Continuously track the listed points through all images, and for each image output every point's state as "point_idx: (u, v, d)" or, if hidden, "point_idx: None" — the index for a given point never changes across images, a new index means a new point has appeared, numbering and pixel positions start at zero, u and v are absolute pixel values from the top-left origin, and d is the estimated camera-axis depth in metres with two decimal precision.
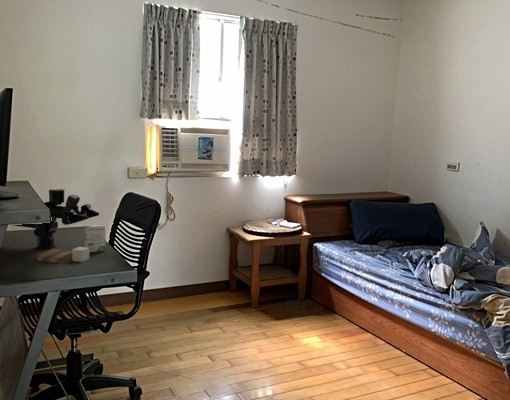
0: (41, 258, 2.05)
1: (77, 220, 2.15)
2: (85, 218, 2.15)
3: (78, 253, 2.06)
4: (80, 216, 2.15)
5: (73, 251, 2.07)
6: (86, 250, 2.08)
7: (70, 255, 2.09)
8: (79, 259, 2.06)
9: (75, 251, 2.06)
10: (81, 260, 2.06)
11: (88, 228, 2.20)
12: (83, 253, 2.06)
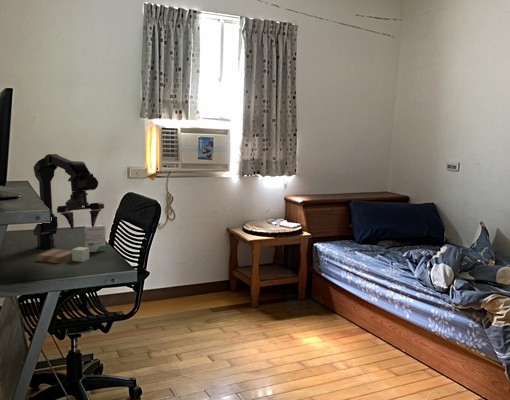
0: (41, 258, 2.05)
1: None
2: None
3: (78, 253, 2.06)
4: None
5: (73, 251, 2.07)
6: (86, 250, 2.08)
7: (70, 255, 2.09)
8: (79, 259, 2.06)
9: (75, 251, 2.06)
10: (81, 260, 2.06)
11: (88, 228, 2.20)
12: (83, 253, 2.06)
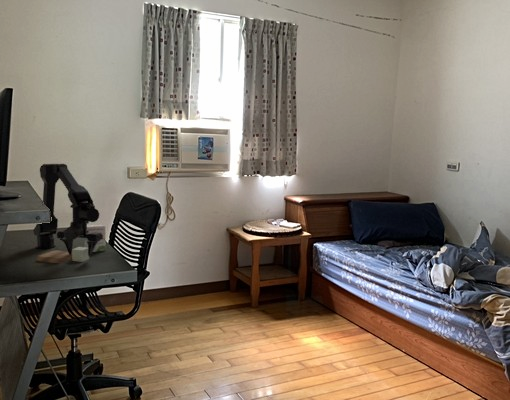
0: (41, 259, 2.05)
1: None
2: None
3: (78, 253, 2.06)
4: None
5: (73, 251, 2.07)
6: (86, 250, 2.08)
7: (70, 256, 2.09)
8: (79, 259, 2.06)
9: (75, 251, 2.06)
10: (81, 260, 2.06)
11: (88, 228, 2.20)
12: (83, 253, 2.06)
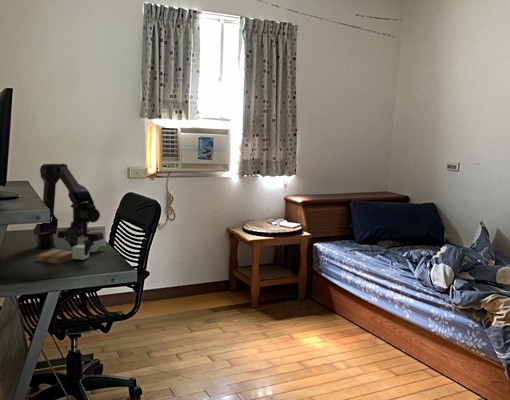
0: (41, 258, 2.05)
1: None
2: None
3: (78, 250, 2.06)
4: None
5: (73, 249, 2.07)
6: None
7: (70, 255, 2.09)
8: (79, 257, 2.06)
9: (75, 249, 2.06)
10: (81, 258, 2.06)
11: (88, 228, 2.20)
12: (83, 251, 2.06)
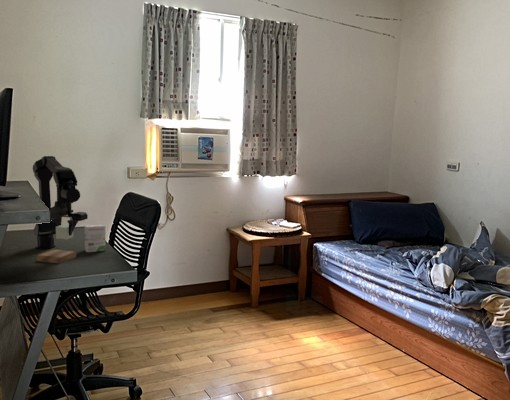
0: (41, 258, 2.05)
1: None
2: None
3: (62, 230, 2.05)
4: None
5: (57, 228, 2.06)
6: None
7: (70, 255, 2.09)
8: (63, 236, 2.06)
9: (59, 228, 2.06)
10: (65, 237, 2.06)
11: (88, 228, 2.20)
12: (67, 230, 2.06)
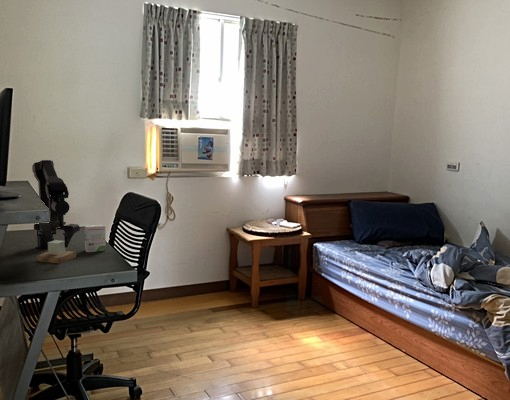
0: (41, 258, 2.04)
1: None
2: None
3: (54, 246, 2.06)
4: None
5: (49, 244, 2.07)
6: (62, 243, 2.08)
7: (70, 256, 2.09)
8: (55, 252, 2.06)
9: (51, 244, 2.06)
10: (57, 253, 2.06)
11: (88, 228, 2.20)
12: (59, 246, 2.06)
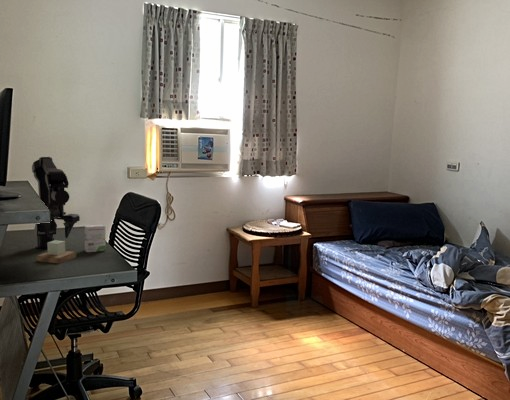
0: (41, 258, 2.04)
1: None
2: None
3: (54, 246, 2.06)
4: None
5: (48, 244, 2.06)
6: (62, 243, 2.08)
7: (70, 256, 2.09)
8: (55, 252, 2.06)
9: (50, 244, 2.06)
10: (57, 253, 2.06)
11: (88, 228, 2.20)
12: (58, 246, 2.06)
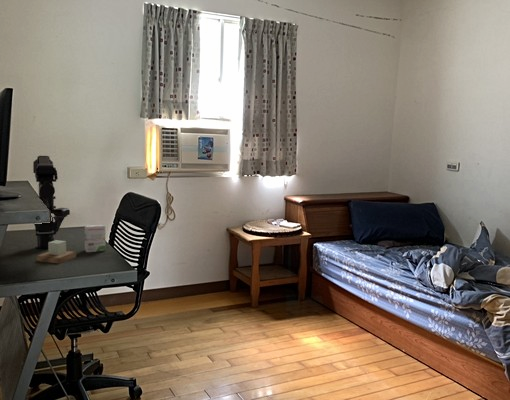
0: (41, 258, 2.04)
1: None
2: None
3: (54, 246, 2.06)
4: None
5: (49, 244, 2.06)
6: (63, 243, 2.08)
7: (70, 256, 2.09)
8: (55, 252, 2.06)
9: (51, 244, 2.06)
10: (57, 253, 2.06)
11: (88, 228, 2.20)
12: (59, 246, 2.06)
